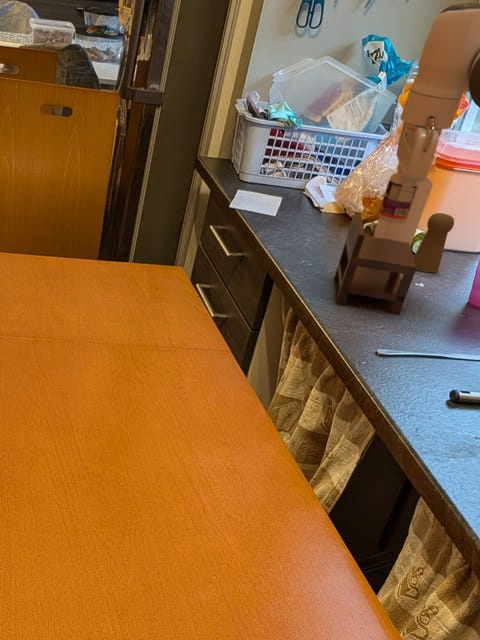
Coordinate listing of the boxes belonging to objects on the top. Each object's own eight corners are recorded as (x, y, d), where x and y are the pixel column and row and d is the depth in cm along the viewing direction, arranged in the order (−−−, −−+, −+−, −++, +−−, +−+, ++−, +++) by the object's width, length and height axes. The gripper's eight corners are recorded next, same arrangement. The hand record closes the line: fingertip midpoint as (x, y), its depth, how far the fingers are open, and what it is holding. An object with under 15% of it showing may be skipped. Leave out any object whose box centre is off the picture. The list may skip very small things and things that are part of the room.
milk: (370, 277, 194) (409, 163, 180) (362, 268, 199) (399, 155, 185) (399, 280, 194) (439, 165, 180) (390, 270, 199) (429, 158, 185)
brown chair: (392, 288, 190) (416, 221, 182) (398, 315, 178) (425, 245, 170) (333, 277, 192) (354, 211, 183) (335, 304, 180) (358, 234, 171)
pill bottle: (382, 212, 178) (400, 157, 172) (409, 219, 176) (429, 164, 170) (373, 218, 175) (391, 161, 169) (401, 225, 173) (421, 168, 166)
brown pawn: (417, 261, 206) (436, 208, 199) (443, 269, 203) (463, 216, 196) (405, 265, 203) (424, 212, 195) (430, 274, 199) (451, 220, 192)
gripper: (454, 126, 156) (422, 213, 165) (440, 105, 171) (412, 185, 180) (416, 120, 157) (386, 207, 165) (405, 99, 172) (379, 180, 181)
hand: (400, 195), depth 173 cm, fingers closed on pill bottle, 5 cm apart
